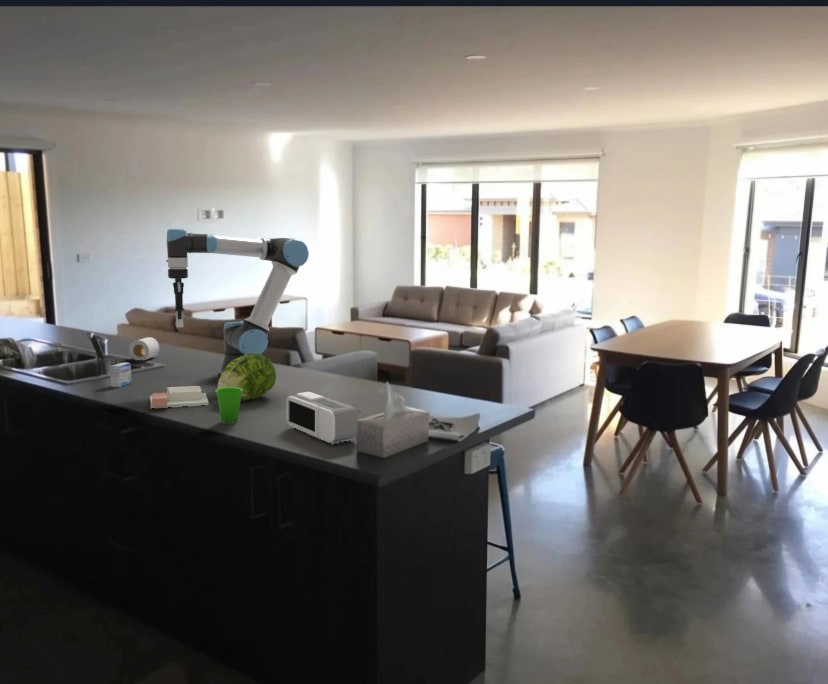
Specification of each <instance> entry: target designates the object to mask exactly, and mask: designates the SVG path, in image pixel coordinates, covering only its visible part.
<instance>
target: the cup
mask: <svg viewBox="0 0 828 684" xmlns="http://www.w3.org/2000/svg"><path fill="white" fill-rule="evenodd" d="M242 391H243V389H241V388H237V387H224V388H219V389H218V388H216V389H215V391H214V392H215V393H216V398H217V399H216V400H217V404H218V409H219V413H220V421H221V423H222V422H225V423H232V422H236V421H237V422H238V420H239V414H240V413H239V412H240V405H241V401H240V400H241V393H242ZM237 422H236V423H237ZM225 423H224V424H225ZM232 424H233V423H232Z"/></svg>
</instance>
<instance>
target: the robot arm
mask: <svg viewBox="0 0 828 684" xmlns="http://www.w3.org/2000/svg"><path fill="white" fill-rule="evenodd" d="M166 249H167V250H166V251H167V259H166V260H165V262H166V263H167V267H168V269H167V277H168V278H169V279H171V280H172V279H174V282H172V287H173V294H174V301H175V302H174V303H175V307H174V308H175V309H174V310H173V311H174V312H175V327H176V328H184V311H185V308H184V304H183V302H184V299H183V298H184V297H183V294H184V287H185V286H184V282H182V280H183V279H188V277H189V270H188V266H189V265H188V264H189V262H188V254H218V255H228V256H229V255H230V256H238V257H239V256H241V257H251V258H259V260H260V261H269V262H271V264H272V269H271V271H270V273H269V274H268V278H267V279H266V281H265V283H264V286H263V288H262V289H261V292H260V294H259V297H258V298H257V299H256V302H255V305H254V306H253V309H252V311H251V313H250V316H249V317H246V318H244V319H243V321H231V322H230V321H229V322H225V323H224V324H223V347H224V348H223V352H224V354H223V355H224V356H223V359H222V363H221V366H220V374H222V372H223V370H224V369H225V367H226V366H227V364H228V363H229V362H231V361H232V360H234V359H237V358H239V357H241V356H243V355H246V354H250V353H255V354H262V353H263V352H264V351H266V349H267V347H268V343H269V340H268V335H269V333H270V328H269V324H270V323H271V320H272V318H273V315H274V313H275V312H276V310H277V307H278V306H279V303H280V301H281V299H282V297H283V294H284V293H285V290H286V288H287V286H288V284H289V282H290V280H291V278H292V276H294V275H296V274H297V273H298V271H299V269H300V267H302V266H303V265H305V264H306V263H307V261H308V259H309V248H308V246H307V245H306V243H305V242H304V241H302V239H301V240H300V239H299V238H298V239H297V238H294V237H290V238H288V237H277V238H266V237H262V238H260V239H252V238H243V237H231V236H223V235H215V234H213V233H212V234H211V233H192V232H187V230H186V229H185V228H168V229H167V231H166Z"/></svg>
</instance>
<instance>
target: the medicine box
mask: <svg viewBox="0 0 828 684" xmlns="http://www.w3.org/2000/svg"><path fill="white" fill-rule="evenodd" d="M131 366H132V365H131V363H130V362H119V363H116V364H114V365H113V364H112V365H110V366H109V371H110V372H109V376H110V377H109V378H110V387H112V388H122V387H125V386H127V385H131V384H132V369H131V368H132V367H131Z"/></svg>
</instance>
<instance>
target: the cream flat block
mask: <svg viewBox="0 0 828 684" xmlns="http://www.w3.org/2000/svg"><path fill="white" fill-rule="evenodd" d="M202 393H203V392H202V389H201V386H200V385H191V386H189V385H188V386H170V387H166V395H167V398H168V401H175V400H192V399H202Z"/></svg>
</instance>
